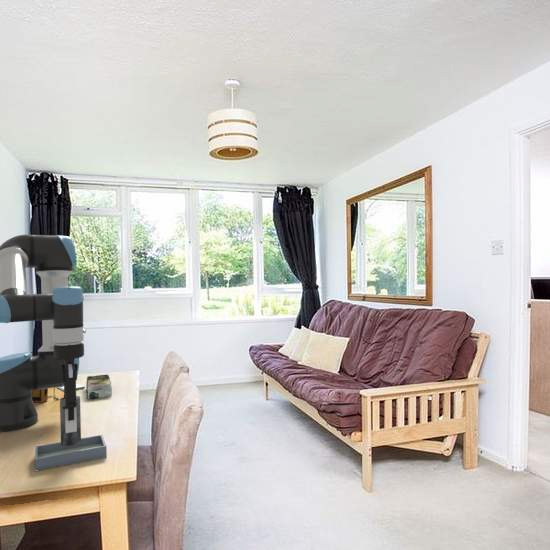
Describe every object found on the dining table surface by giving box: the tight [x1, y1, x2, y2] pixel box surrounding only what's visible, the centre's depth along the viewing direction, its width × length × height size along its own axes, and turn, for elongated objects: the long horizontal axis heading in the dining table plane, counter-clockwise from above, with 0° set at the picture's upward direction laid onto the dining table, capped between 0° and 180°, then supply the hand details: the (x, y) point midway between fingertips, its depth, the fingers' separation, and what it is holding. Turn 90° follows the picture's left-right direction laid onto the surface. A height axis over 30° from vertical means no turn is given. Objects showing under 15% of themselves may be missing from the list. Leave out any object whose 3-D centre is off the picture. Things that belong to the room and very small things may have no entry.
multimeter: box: [29, 351, 60, 403], centre depth 178 cm, size 15×10×20 cm
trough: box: [34, 434, 108, 471], centre depth 119 cm, size 10×17×3 cm, turn 118°
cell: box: [59, 395, 82, 446], centre depth 119 cm, size 5×5×13 cm
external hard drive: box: [56, 382, 86, 392], centre depth 196 cm, size 2×8×12 cm
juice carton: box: [85, 374, 113, 400], centre depth 187 cm, size 20×10×6 cm, turn 25°
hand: (70, 428), depth 119 cm, fingers closed on cell, 5 cm apart
